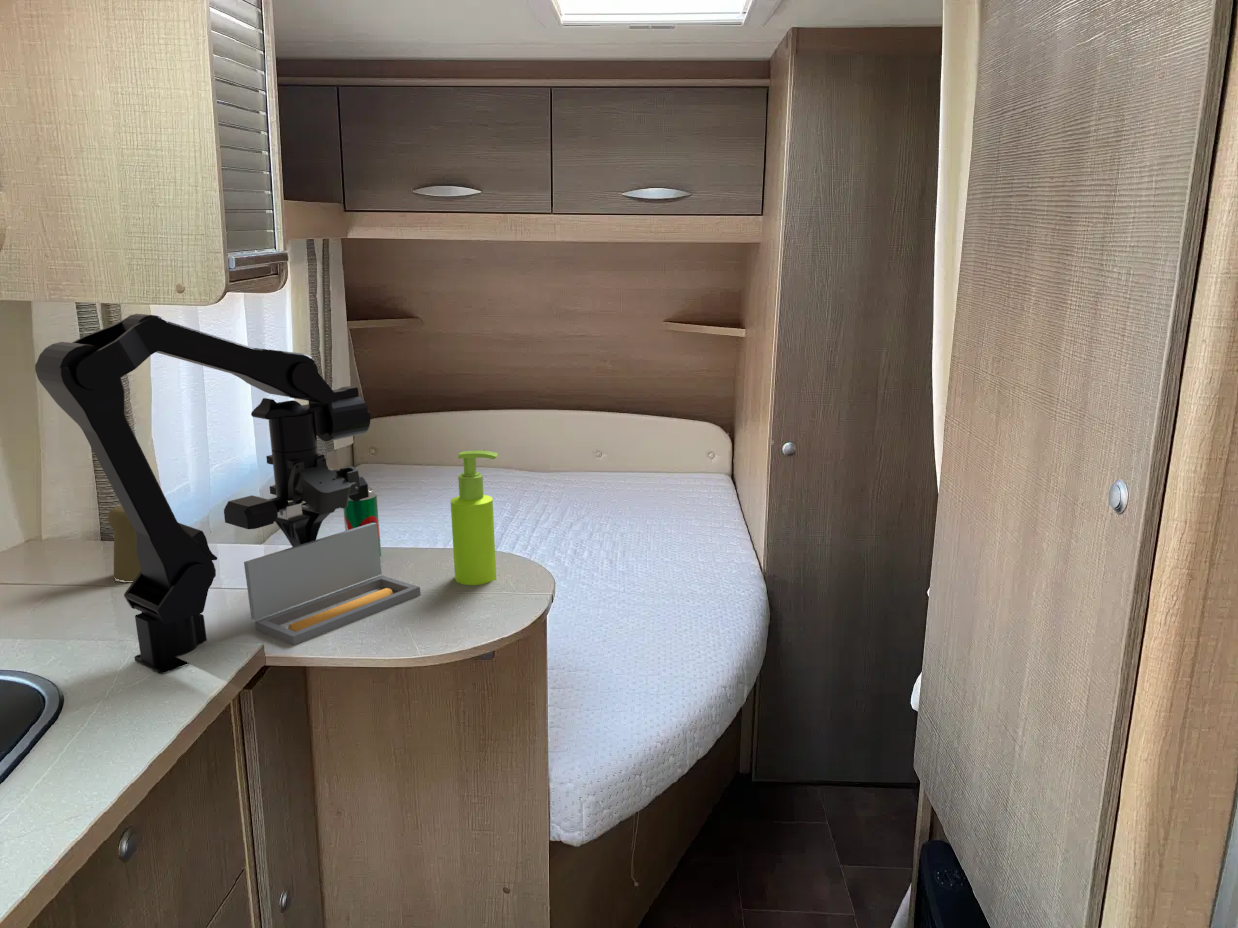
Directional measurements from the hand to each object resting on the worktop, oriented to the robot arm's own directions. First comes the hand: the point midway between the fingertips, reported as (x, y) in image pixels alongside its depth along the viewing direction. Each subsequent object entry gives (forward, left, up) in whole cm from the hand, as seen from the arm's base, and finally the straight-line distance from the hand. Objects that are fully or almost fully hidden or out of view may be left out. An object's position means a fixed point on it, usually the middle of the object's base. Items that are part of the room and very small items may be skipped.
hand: (305, 560), depth 125 cm
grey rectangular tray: (0, -7, -7) cm, 10 cm away
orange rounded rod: (0, -7, -6) cm, 9 cm away
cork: (-7, +33, -7) cm, 35 cm away
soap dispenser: (+19, -13, -7) cm, 24 cm away
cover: (0, -3, -1) cm, 3 cm away
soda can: (+16, +8, -7) cm, 19 cm away
